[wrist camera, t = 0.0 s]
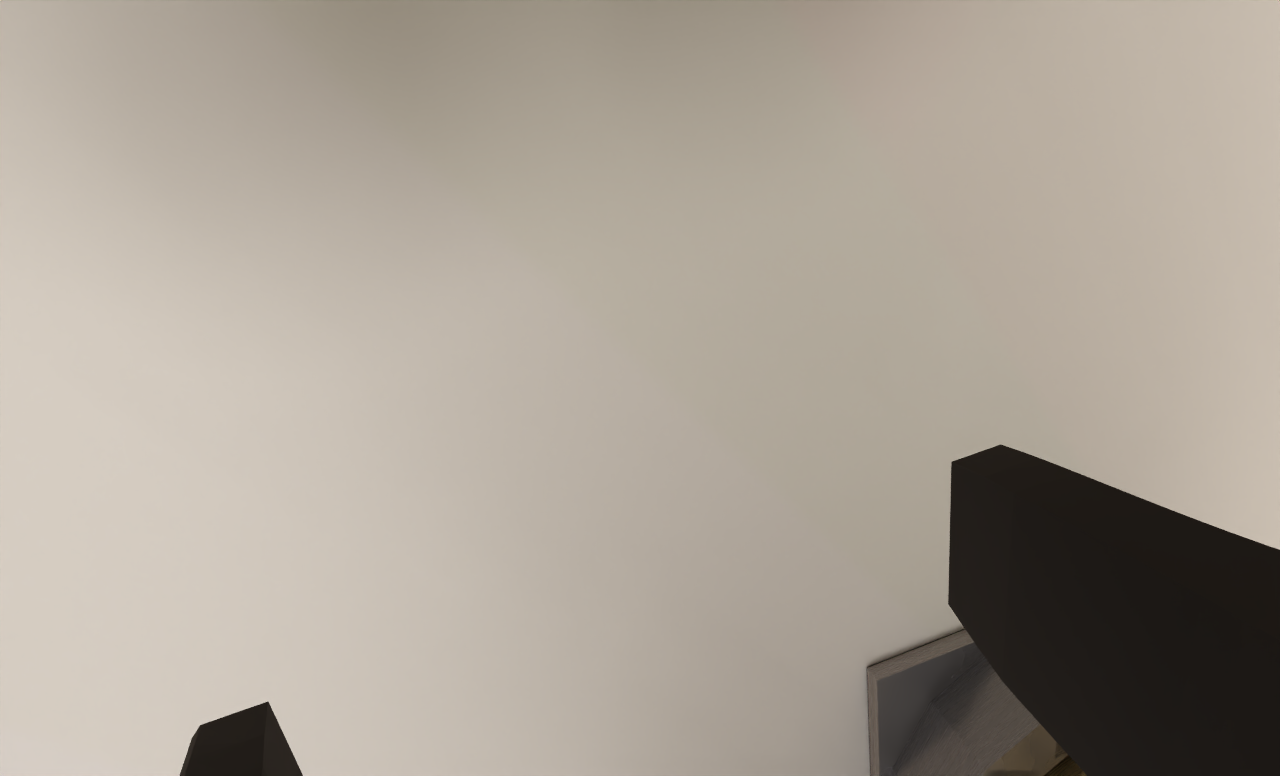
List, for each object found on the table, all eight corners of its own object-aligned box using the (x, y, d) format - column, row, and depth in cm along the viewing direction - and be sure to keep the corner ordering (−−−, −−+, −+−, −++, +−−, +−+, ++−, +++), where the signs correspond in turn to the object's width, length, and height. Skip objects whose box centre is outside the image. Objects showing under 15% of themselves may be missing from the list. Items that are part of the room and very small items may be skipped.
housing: (1135, 773, 35) (1205, 845, 33) (874, 889, 33) (928, 976, 31) (1174, 547, 30) (1259, 613, 28) (867, 667, 28) (930, 751, 26)
